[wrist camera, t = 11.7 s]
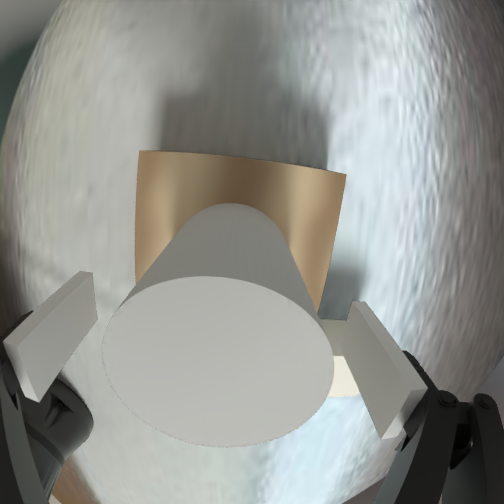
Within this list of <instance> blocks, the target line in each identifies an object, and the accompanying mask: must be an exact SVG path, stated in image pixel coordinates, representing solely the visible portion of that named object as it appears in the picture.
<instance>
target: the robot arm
mask: <svg viewBox="0 0 504 504" xmlns="http://www.w3.org/2000/svg"><path fill="white" fill-rule="evenodd" d="M97 320H98V318H97V310H96V303H95V294H94V284H93V273H90V272H84V271H79V272H78V273H77V274H76V275H75V276H73V277H72V278H71V279H70V280H69V281H68V282H66V283H65V284H64V285H63V286H62V287H61V288H59V289H58V290H57V291H56V292H55V293H54V294H53V295H51V296H50V297H49V298H48V299H47V300H46V301H45V302H44V303H42V304H41V305H40V306H39V307H38V308H37V309H36V310H35V311H31V312H29V313H27V314H25V315H23V316H22V317H21V318H20V319H18V320H17V322H16V323H14V324H13V325H12V327H10V328H9V329H8V330H7V331H6V332H5V333H4V334H3V335H2V336H1V337H0V504H49V502H48V501H49V499H50V496H51V494H52V491H53V489H54V486H55V484H56V481H57V479H58V476H59V474H60V472H61V469H62V467H63V464H64V462H65V460H66V459H67V457H68V456H70V455H71V454H72V453H73V452H74V451H75V450H76V449H77V448H78V447H79V446H80V445H81V444H82V443H83V442H85V441H86V440H87V439H88V437H89V435H90V433H91V431H92V429H93V419H92V416H91V414H90V412H89V411H88V409H87V407H86V406H85V405H84V403H83V402H82V401H81V400H80V399H79V398H78V397H77V396H76V395H75V394H74V393H73V392H72V391H71V390H70V389H69V388H68V387H67V386H65V385H64V384H63V383H62V382H60V381H59V380H58V379H56V376H57V375H58V373H59V372H60V371H61V369H62V368H63V366H64V365H65V363H66V362H67V361H68V359H69V358H70V356H71V355H72V353H73V352H74V351H75V349H76V348H77V347H78V345H79V344H80V342H81V341H82V340H83V338H84V337H85V336H86V334H87V333H88V332H89V330H90V329H91V328H92V326H93V325H94V324H95V322H96V321H97ZM339 347H340V350H341V352H342V354H343V356H344V358H345V360H346V363H347V365H348V367H349V369H350V371H351V373H352V376H353V378H354V380H355V382H356V384H357V387H358V389H359V391H360V393H361V396H362V398H363V400H364V402H365V405H366V407H367V409H368V412H369V414H370V416H371V418H372V421H373V423H374V425H375V428H376V430H377V432H378V435H379V437H380V440H381V439H387V438H393V437H397V435H398V434H399V433H400V431H401V430H402V428H403V427H404V429H405V431H406V433H407V434H406V435H405V437H404V438H403V439H402V441H401V442H400V443H399V445H398V446H397V447H396V449H395V450H396V451H397V450H398V452H397V454H396V456H395V459H394V461H393V463H392V465H391V468H390V470H389V472H388V474H387V476H386V478H385V480H384V482H383V484H382V486H381V488H380V490H379V492H378V494H377V496H376V498H375V499H374V501H373V503H372V504H438V503H439V500H440V497H441V494H442V504H504V429H503V425H502V421H501V418H500V414H499V411H498V407H497V404H496V402H495V401H494V400H493V399H492V397H490V396H489V395H486V394H483V393H482V394H480V393H479V394H476V395H475V397H474V398H473V399H472V401H471V402H470V403H467V402H459V401H458V399H457V398H456V397H455V396H454V395H453V394H452V393H450V392H448V391H444V390H438V389H437V387H436V386H435V385H434V383H433V382H432V380H431V379H430V378H429V376H428V375H427V373H426V372H424V369H423V368H422V367H421V366H420V364H419V362H418V361H417V360H416V358H415V357H414V356H413V355H411V354H410V353H409V352H407V351H402V350H401V349H400V347H399V346H398V345H397V343H396V342H395V341H394V339H393V338H392V336H391V335H390V334H389V332H388V331H387V330H386V328H385V327H384V326H383V324H382V323H381V322H380V320H379V319H378V318H377V316H376V315H375V314H374V312H373V311H372V310H371V308H370V307H369V306H368V305H367V303H366V302H360V301H352V304H351V307H350V311H349V314H348V317H347V321H346V324H345V327H344V330H343V333H342V336H341V340H340V343H339ZM472 442H473V445H472V447H471V443H472Z"/></svg>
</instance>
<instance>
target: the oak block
mask: <svg viewBox="0 0 504 504" xmlns="http://www.w3.org/2000/svg"><path fill="white" fill-rule="evenodd" d="M345 180H346V174H342V173H338V172H333V171H329V170H324V169H318V168H312V167H306V166H300V165H294V164H287V163H280V162H273V161H266V160H258V159H250V158H242V157H233V156H223V155H213V154H201V153H188V152H173V151H139V160H138V173H137V190H136V213H135V276H136V284H137V283H138V281H139V280H140V279H141V278H142V276H143V275H144V274H145V272H146V271H147V270H148V269H149V267H150V266H151V265H152V264H153V262H154V261H155V260H156V259H157V257H158V256H159V255H160V254H161V252H162V251H163V250H164V249H165V247H166V246H167V245H168V244H169V242H170V241H171V240H172V239H173V238H174V236H175V235H176V234H177V233H178V232H179V230H180V229H181V228H182V227H183V226H184V224H185V223H186V222H187V221H188V220H189V219H190V218H191V217H192V216H194V215H195V214H196V213H198V212H199V211H201V210H203V209H205V208H207V207H210V206H213V205H217V204H223V203H237V204H243V205H247V206H250V207H253V208H255V209H257V210H259V211H261V212H263V213H264V214H266V215H267V216H268V217H270V218H271V219H272V220H273V221H274V222H275V223H276V225H277V226H278V227H279V229H280V230H281V232H282V233H283V235H284V238H285V240H286V242H287V244H288V246H289V249H290V251H291V253H292V256H293V258H294V260H295V262H296V265H297V267H298V269H299V272H300V274H301V276H302V279H303V281H304V283H305V286H306V288H307V290H308V293H309V295H310V297H311V300H312V302H313V304H314V307H315V309H316V312H317V314H318V310H319V306H320V302H321V298H322V294H323V290H324V285H325V281H326V277H327V272H328V268H329V264H330V259H331V254H332V250H333V245H334V240H335V235H336V230H337V225H338V220H339V215H340V209H341V204H342V198H343V192H344V186H345Z"/></svg>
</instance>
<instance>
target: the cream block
mask: <svg viewBox="0 0 504 504" xmlns="http://www.w3.org/2000/svg"><path fill="white" fill-rule="evenodd" d="M320 321H321V324H322V326H323V328H324V331H325V333H326V336H327V338H328V341H329V343H330V346H331V349H332V353H333V357H334V378H333V383H332V386H331V389H330V391H329V394H328V396H327V397H346V396H357V395H358V393H359V389H358V387H357V384H356V382H355V380H354V378H353V376H352V373H351V371H350V369H349V367H348V365H347V363H346V360H345V358H344V356H343V354H342V352H341V350H340V347H339V343H340V340H341V336H342V333H343V330H344V327H345V324H346V320H328V319H320Z"/></svg>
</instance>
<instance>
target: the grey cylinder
mask: <svg viewBox="0 0 504 504" xmlns="http://www.w3.org/2000/svg"><path fill="white" fill-rule="evenodd" d="M102 361H103V366H104V370H105V373H106V376H107V378H108V381H109V383H110V385H111V387H112V389H113V390H114V392H115V393H116V395H117V396H118V398H119V399H120V400H121V401H122V403H123V404H124V405H125V406H126V407H127V408H128V409H129V410H130V411H131V412H132V413H133V414H134V415H136V416H137V417H138V418H139V419H141V420H142V421H143V422H145V423H146V424H148V425H149V426H151V427H153V428H154V429H156V430H158V431H160V432H162V433H164V434H166V435H168V436H171V437H173V438H176V439H179V440H182V441H185V442H189V443H193V444H197V445H203V446H210V447H225V448H230V447H244V446H251V445H257V444H261V443H265V442H268V441H271V440H274V439H277V438H279V437H282V436H284V435H286V434H288V433H290V432H292V431H294V430H295V429H297V428H298V427H300V426H301V425H303V424H304V423H305V422H306V421H308V420H309V419H310V418H311V417H312V416H313V415H314V414H315V413H316V412H317V411H318V410H319V408H320V407H321V406H322V404H323V403H324V401H325V400H326V398H327V396H328V394H329V391H330V389H331V386H332V383H333V378H334V357H333V353H332V349H331V346H330V343H329V341H328V338H327V336H326V333H325V331H324V328H323V326H322V324H321V321H320V319H319V316H318V314H317V312H316V309H315V307H314V304H313V302H312V300H311V297H310V295H309V293H308V290H307V288H306V286H305V283H304V281H303V279H302V276H301V274H300V272H299V269H298V267H297V265H296V262H295V260H294V258H293V256H292V253H291V251H290V249H289V246H288V244H287V242H286V240H285V238H284V235H283V233H282V232H281V230H280V229H279V227H278V226H277V225H276V223H275V222H274V221H273V220H272V219H271V218H270V217H268V216H267V215H266V214H264V213H263V212H261V211H259V210H257V209H255V208H253V207H250V206H247V205H243V204H237V203H223V204H217V205H213V206H210V207H207V208H205V209H203V210H201V211H199V212H198V213H196V214H195V215H194V216H192V217H191V218H190V219H189V220H188V221H187V222H186V223H185V224H184V226H183V227H182V228H181V229H180V230H179V232H178V233H177V234H176V235H175V236H174V238H173V239H172V240H171V241H170V242H169V244H168V245H167V246H166V247H165V249H164V250H163V251H162V252H161V254H160V255H159V256H158V257H157V259H156V260H155V261H154V262H153V264H152V265H151V266H150V267H149V269H148V270H147V271H146V272H145V274H144V275H143V276H142V278H141V279H140V280H139V281H138V283H137V284H136V285H135V287H134V288H133V289H132V291H131V292H130V293H129V295H128V296H127V297H126V299H125V300H124V301H123V303H122V304H121V305H120V307H119V308H118V309H117V311H116V312H115V313H114V315H113V316H112V318H111V320H110V321H109V323H108V325H107V327H106V330H105V333H104V337H103V342H102Z"/></svg>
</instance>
